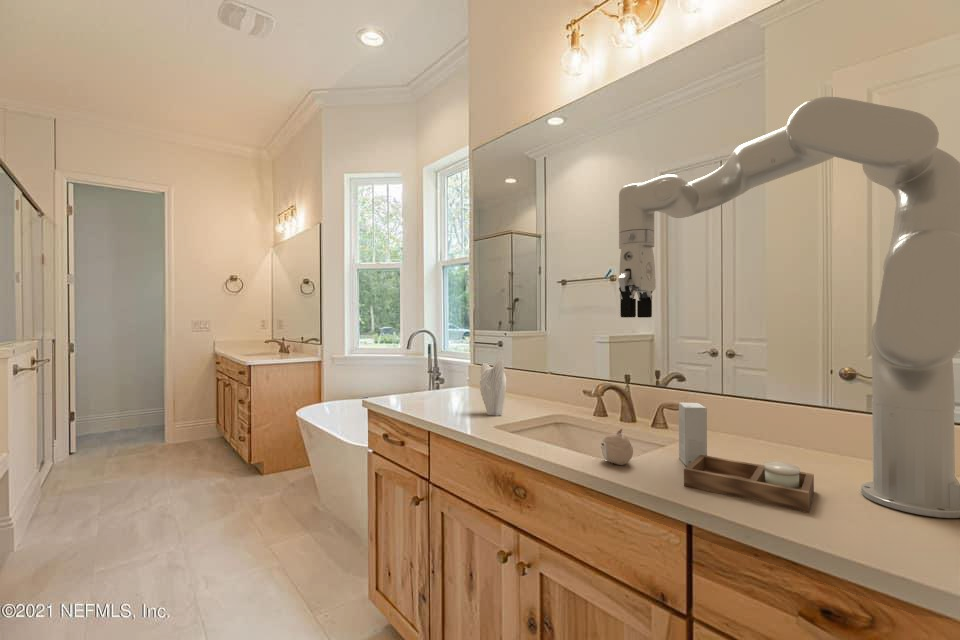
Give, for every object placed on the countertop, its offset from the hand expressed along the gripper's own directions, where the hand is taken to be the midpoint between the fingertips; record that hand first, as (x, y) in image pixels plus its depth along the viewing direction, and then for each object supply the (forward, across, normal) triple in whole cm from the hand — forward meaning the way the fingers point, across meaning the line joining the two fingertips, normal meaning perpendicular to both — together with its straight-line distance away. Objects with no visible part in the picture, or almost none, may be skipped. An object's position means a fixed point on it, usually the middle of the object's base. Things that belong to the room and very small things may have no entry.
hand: (636, 317), depth 101 cm
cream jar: (+30, -10, -28) cm, 42 cm away
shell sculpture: (+31, +12, +50) cm, 60 cm away
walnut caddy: (+30, -10, -23) cm, 39 cm away
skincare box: (+30, 0, -12) cm, 33 cm away
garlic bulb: (+31, -10, 0) cm, 32 cm away
